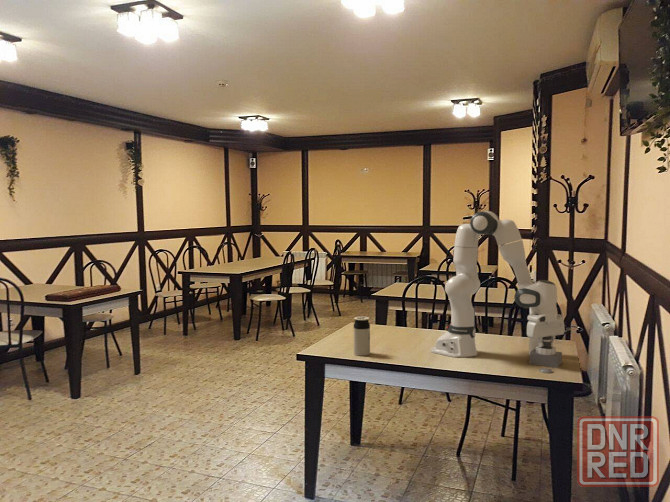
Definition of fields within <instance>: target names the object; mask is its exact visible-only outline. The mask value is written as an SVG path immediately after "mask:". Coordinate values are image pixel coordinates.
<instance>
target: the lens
mask: <svg viewBox="0 0 670 502" xmlns="http://www.w3.org/2000/svg"><path fill="white" fill-rule="evenodd" d="M542 343H544V347H541V348H544V349H551V346H552V345H551V336H549V337H542Z"/></svg>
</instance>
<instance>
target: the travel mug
mask: <svg viewBox="0 0 670 502" xmlns="http://www.w3.org/2000/svg"><path fill="white" fill-rule="evenodd" d="M353 319H354V323H353V355H356V356H358V357H362V356H363V357H365V356H368V355H370V354H371V324H370V322H369V320H370V317H368V316H355V317H353Z"/></svg>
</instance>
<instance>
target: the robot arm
mask: <svg viewBox="0 0 670 502" xmlns="http://www.w3.org/2000/svg"><path fill="white" fill-rule="evenodd" d="M469 221H470V222H469V223H462V224H461V225H459V226H458V228H457V230H456V233H455V239H454V244H453V245H454V247H453V257H452V258H453V260H452V261H453V264H454V267H455V271H456V272H455V274H456V275H455V276H452V277H450V278H448V280H447V281H446V282H445V286H444V290H445V293H446V294H447V297H448V300H449V305H450V311H451V312H450V313H451V314H450V317H451V319H450V324H447V326H446V329H447V331H446V332H445V333H443V334H442V335H440V336H439V337H438V338H437V339H436V341H435V346H433V347H431V348H430V352H431V353H433V354H437V355H443V356H447V357H452V358H467V357H469V358H471V357H475V356H477V355H478V350H477V347H476V345H477V344H476V325H475V308H474V306H473V303H472V299H471V296H473V295H474V294H476V293H477V292H478V291H479V289H480V287H481V281H480V279H479V274H478V272H479V271H478V265H477V263H478V261H477V260H478V248H479V239H480V237H481V235H492V236H493V237H494V238H495V241H496V244H497V246H498V250H499V253H500V255H501V257H502V259H503V260H504V261H505V262H506V263H508V264H509V265H510V266H511V267H512V269H513V272H514V274H515V278H516V281H517V283H518V289H517V290H516V291H515V293H514V298H513V299H514V302H515V303H516V305H517V306H519V307H521V308H524V309H530V307H536V311H535V312H534V313H532V314H530V313H529V314H528V315H527V318H526V319H527V321H528V322H527V324H526V336H527V338H528V339H529V338H533V339H534V338H537V341H538V343H539V347H544V343H542V337H549V336H551V346H554V341H555V340H556V336H561V335H563V336H564V334H565V332H566V330H565V321H564V316H563V315H562V314H558V308H557V303H558V288H557V287H558V286H557V285H556V284H555V283H554V282H553V281H551V280H546V279H539V280H538V281H536V282H533V279H532V277H531V274H530V270H529V268H528V265H527V260H526V251H525V246H524V242H523V239H522V236H521V233H520V230H519V228H518V227H517V224H516V222H515V221H514V220H511V219H503V220H500V217H499V215H498V214H497V213H495V212H494V211H491V210H481V211H477V212H476V213H474V214H473V215H472V217H471V218H470V220H469Z"/></svg>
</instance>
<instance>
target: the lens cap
mask: <svg viewBox="0 0 670 502" xmlns="http://www.w3.org/2000/svg"><path fill="white" fill-rule="evenodd" d="M539 372H540V373H543V374H552V373H553V370H552V369H550V368H546V367H545V368H543V367H542V368H539Z"/></svg>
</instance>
